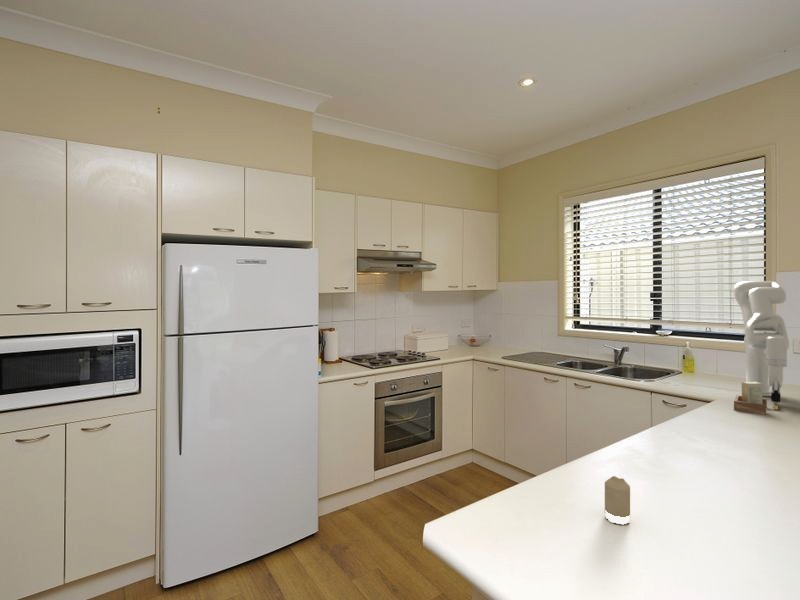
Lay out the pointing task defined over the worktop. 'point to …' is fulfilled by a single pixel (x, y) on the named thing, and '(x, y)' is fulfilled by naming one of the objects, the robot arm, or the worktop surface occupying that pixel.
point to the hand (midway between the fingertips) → (775, 401)
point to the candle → (617, 497)
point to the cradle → (750, 406)
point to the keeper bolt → (775, 405)
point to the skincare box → (752, 392)
